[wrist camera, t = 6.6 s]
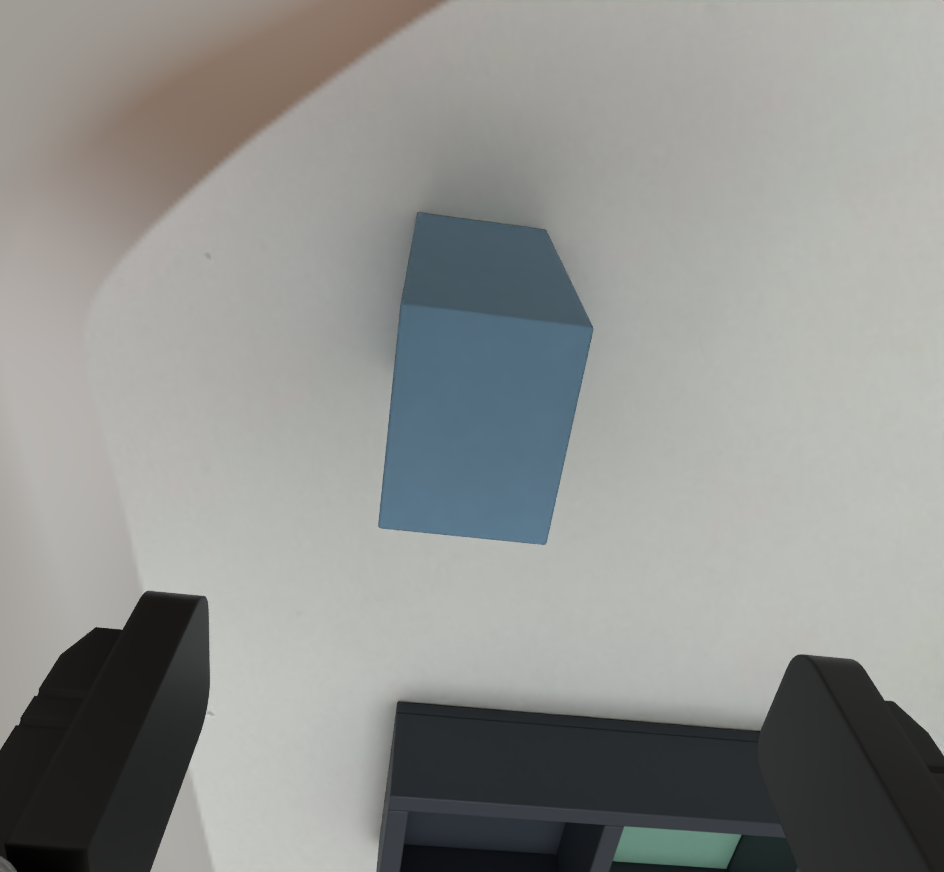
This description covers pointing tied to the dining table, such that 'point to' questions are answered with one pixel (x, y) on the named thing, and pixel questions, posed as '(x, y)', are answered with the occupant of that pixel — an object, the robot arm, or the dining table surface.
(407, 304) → the steel-blue rectangular block
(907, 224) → the dining table surface
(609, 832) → the tray
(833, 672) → the robot arm
